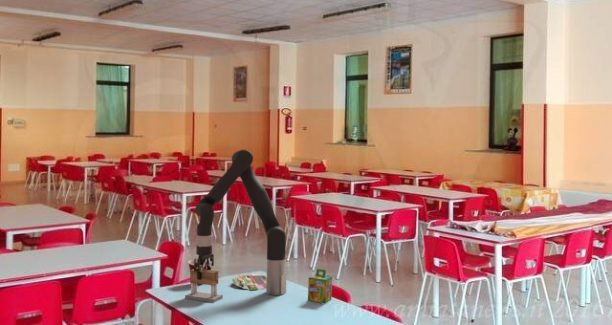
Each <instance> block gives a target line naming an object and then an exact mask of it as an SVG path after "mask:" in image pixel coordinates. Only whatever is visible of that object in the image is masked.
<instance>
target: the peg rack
mask: <svg viewBox="0 0 612 325" xmlns="http://www.w3.org/2000/svg"><path fill="white" fill-rule="evenodd" d="M190 286H191V287H190V290H191V291H190V293H187V294H184V299H185V300H192V299H193V301H200V302H201V301H202V302H207V301H208V302H209V303H216V302H219V300H222V299H223V294H218V289H217V288H218V287H217V286H218V284H216V285H214V286H213V285H210V293H208V292H202V291H201V292H200V291H198V285H197V283H191V284H190ZM208 302H207V303H208Z"/></svg>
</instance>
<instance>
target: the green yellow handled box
mask: <svg viewBox="0 0 612 325" xmlns="http://www.w3.org/2000/svg"><path fill="white" fill-rule="evenodd" d="M320 273H322V274H320ZM326 274H327V271H326V269H320V268H317V269H316V273H315V274H313V275H311V276H309V277H308V287H307V288H308V289H307V301H308V302H312V301H313V302H314V303H320V304H326V303H327V302H329V301H330V300H332V297H333V296H332V295H333V294H332V291H333V276H331V275H326Z"/></svg>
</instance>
